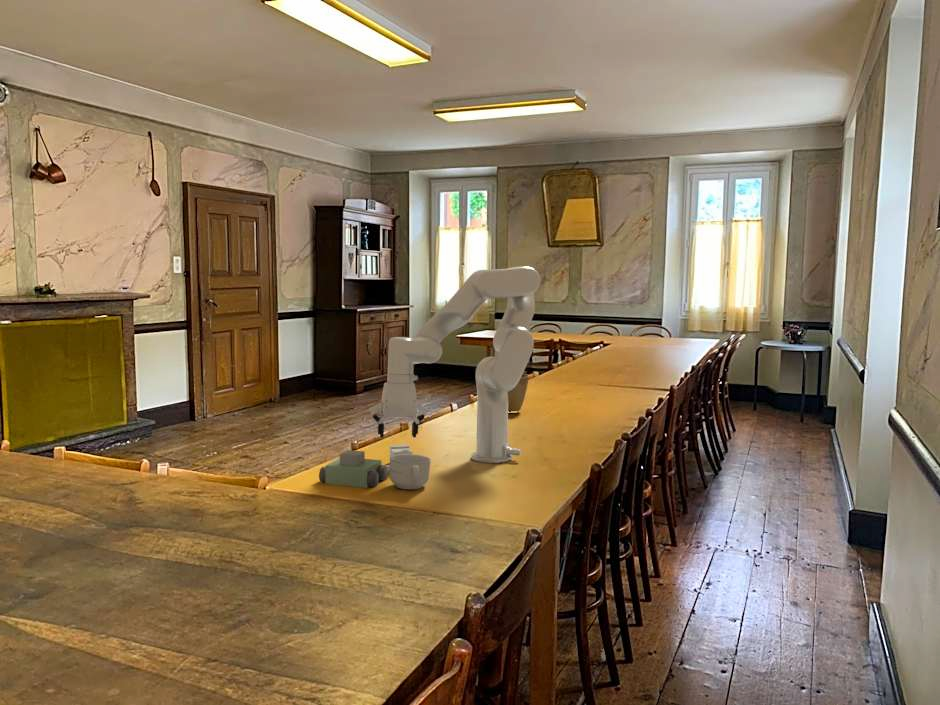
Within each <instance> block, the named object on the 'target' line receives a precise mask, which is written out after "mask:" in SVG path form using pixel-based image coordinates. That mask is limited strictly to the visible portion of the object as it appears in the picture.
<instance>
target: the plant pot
mask: <svg viewBox="0 0 940 705" xmlns="http://www.w3.org/2000/svg"><path fill="white" fill-rule="evenodd" d="M529 377H530V375H529V374H527V373H523V374H522V376H521V378H520V380H519V382H518V384H517V385H516V386H515V387H514V388H513V389H512V390H510V391H508V392H507V393H508V411H509V412H511V411H519V410H520V411H521V410H522V407H523V403H524V401H525V398H526V393H527V389H528V384H529V379H530V378H529Z"/></svg>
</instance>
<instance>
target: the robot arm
mask: <svg viewBox="0 0 940 705" xmlns="http://www.w3.org/2000/svg"><path fill="white" fill-rule="evenodd" d="M540 285H541V276H540V273H539V272H538V271H537V270H536V269H535V268H533V267H531V266H511V267H509V268H500V269H499V268H497V269H480V270H479V269H478V270H476V271H474V272H472V274H470V275H469V277H468V278H467V279H466V280H465V281H464V283H463V284H462V285H461V286H460V288H458V290H457V291H456V292H455V293H454V294H453V296H452V297H451V298H450V299H449V300H447V302H446V304H445V305H444V306H443V307H441V308H440V309H438V311H437V312H436V313H435V314H434V315H432V316H431V317H430V319H428V320H427V321H426V322H425V324H424V325H423V326H422V327H421V328H420V329H419V331H417V333H416V334H415V335H414V337H412V338H411V337H408V336H394V337H393V336H392V337H391V338H389V340H388V348H387V349H388V352H387V356H388V357H387V376H386V377H387V379H386V382H384V384H383V386H382V394H381V401H380V402H379V403H377V404H375V405H374V406H371V407H369V410H368V411H369V413H370V414H371V416H372V418H373V419H374V421H375V422H377V435H379V436H380V438H384V436H385V435H384V433H385V424H384V422H385V421H386V419H412V420H413V422H412V424H411V436H412V437H413V438H417V435H418V434H419V424H420V423H421V422H422V420H424V419H425V417H426V415H427V414H428V411H429V409H428V408H427V407H425V406H423V405H422V404H419V403H418V402H417V391H416V384H415V383H414V381H418V380H419V376H418V375H415V374H414V363H422V364H434V363H436V362H437V361H439V360H440V358H441V357H442V355H443V347H442V345H441V342H442V341H443V340H444V339H445V338H446V337H448V336H449V335H450V334H451V333H452V332H453V331H455V330H458V329H460V328H462V327H463V326H465V325H467V324H469V322H470V321H471V320H472V319H473V317H474V316H475V315H476V313H478V311H479V310H480V308H482V306H483V305H484V304H485V303H486V301H487V300H488V299H490V300H491V299H492V300H493V299H494V300H495V299H507V306H506V309H505V311H504V314H503V317H502V318H501V321H500V322H499V325H498V327H497V329H496V332H495V333H494V335H493V340H492V345H493V348H494V349H495V351H496V352H498V354H497V356H487V357H484V358H483V359H482V360H481V361H479V362H478V364H477V366H476V368H475V384H476V386H475V387H476V394H477V395H476V398H477V400H476V401H477V402H476V404H477V405H476V406H477V407H476V449H475V450H476V451H474V452H472V453H471V455H470V456H471V457H470V458H471V459H472V460H473V461H475V462H480V463H485V464H499V463H500V462H502V463H506V461H507V462H510V461H511V460H512V459H513V456H517V457H518V456H521V454H522V450H521V448H520V449H519V448H517V447H511V444H510V443H509V442H508V426H509V422H508V421H509V420H508V419H509V414H508V393H507V392H508V391H510V390H512V389H513V388H514V387H515V386H516V385H517V384H518V382H519V380H520V378H521V376H522V374H524V371H525V370H526V368H527V365H528V363H529V361H530V358H531V356H532V353H533V351H534V346H535V344H534V341H535V340H534V337H533V334H532V333H531V331H530V330H529V328H530V325H531V322H532V320H533V317H534V316H535V309H536V303H535V302H536V301H535V295H534V293H536V292H537V291H538V289H539V288H540ZM378 410H380V414H381V415H379V416H378V414H377V413H376V412H377V411H378ZM417 410H420V411H421V412H420V414H419V415H418V416H416V415H417ZM509 460H510V461H509Z"/></svg>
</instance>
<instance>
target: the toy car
mask: <svg viewBox="0 0 940 705" xmlns="http://www.w3.org/2000/svg"><path fill="white" fill-rule="evenodd" d="M365 456H366V454H365V451H362V450H350V449H347V450H345V451H343V452H342V453H340V454H339V458H337V459H335V460H333V461H331V462H329V463H327V464H326V465H325V466H322V467H321V468H320V469H319V473H318V479H319V481H320V482H322V483H325V485H334V486H335V485H336V486H346V487H354V488H355V487H356V488H357V487H358V488H364V489H365V488H369V487H374V488H376V487H377V486H378V484H379V481H386V480H387V478H388V474H389V473H388V472H390V464H386V465H384V464H383V465H382V460H381V459H370V458H369V459H368V458H365Z"/></svg>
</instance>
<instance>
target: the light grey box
mask: <svg viewBox="0 0 940 705" xmlns="http://www.w3.org/2000/svg"><path fill="white" fill-rule="evenodd" d="M399 454H413V451H412V450H411V448H410V445H409V444H395V445H394V444H392V445H389V458H390V457H391V456H393V455H399Z"/></svg>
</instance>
